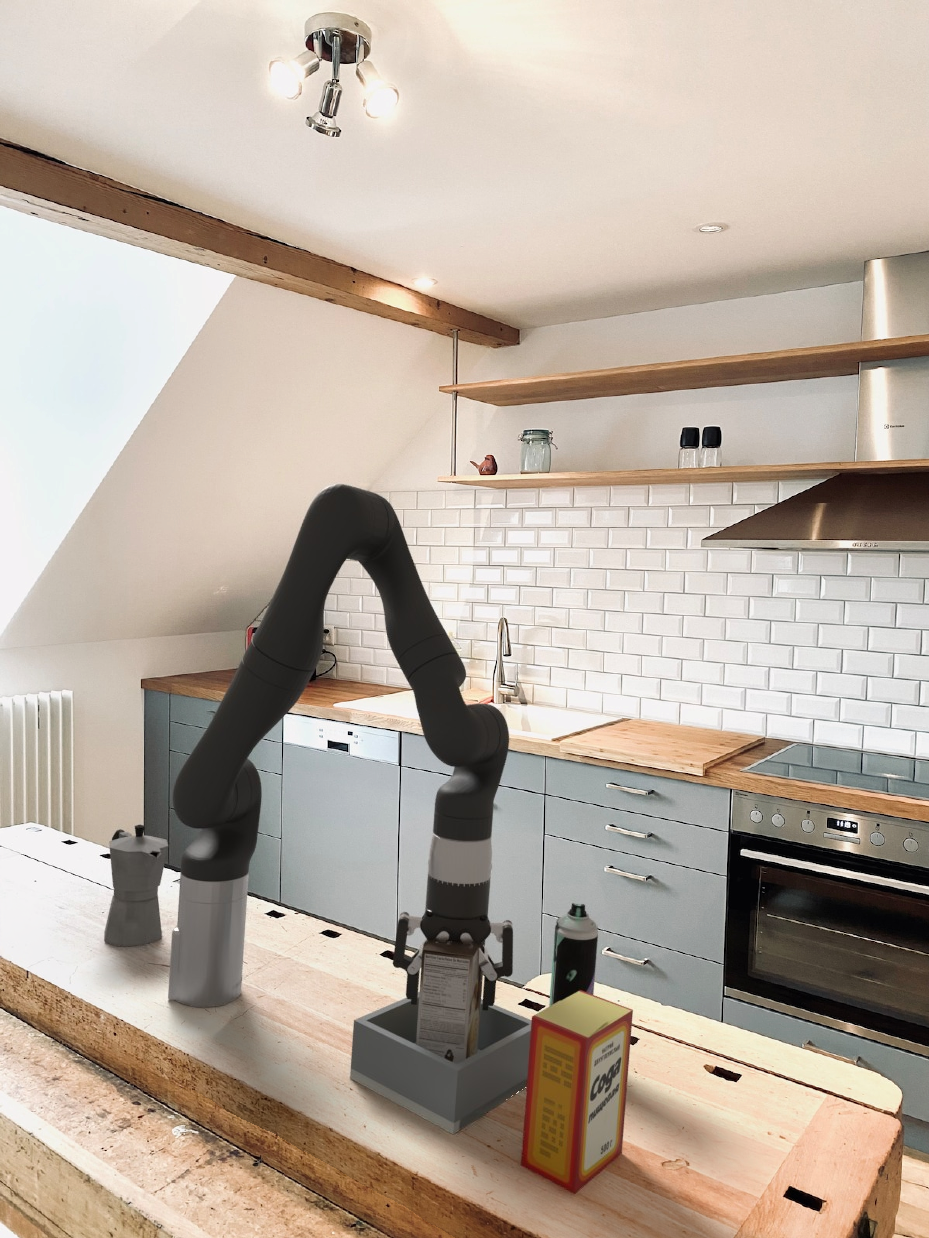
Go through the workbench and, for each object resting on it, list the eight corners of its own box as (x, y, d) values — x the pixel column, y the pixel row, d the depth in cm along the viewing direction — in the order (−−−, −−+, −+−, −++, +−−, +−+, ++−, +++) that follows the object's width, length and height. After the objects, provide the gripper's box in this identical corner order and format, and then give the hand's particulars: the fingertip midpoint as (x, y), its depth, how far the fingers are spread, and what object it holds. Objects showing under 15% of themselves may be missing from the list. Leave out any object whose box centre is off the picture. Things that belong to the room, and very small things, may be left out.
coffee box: (428, 1047, 119) (437, 921, 118) (478, 1055, 118) (487, 927, 117) (411, 1084, 110) (421, 947, 109) (465, 1092, 109) (475, 955, 108)
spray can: (560, 1072, 117) (572, 913, 117) (537, 1051, 122) (548, 898, 121) (596, 1064, 120) (608, 909, 119) (572, 1044, 125) (583, 895, 124)
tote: (349, 1077, 112) (353, 1019, 112) (437, 1034, 125) (441, 982, 125) (453, 1133, 102) (457, 1070, 102) (537, 1080, 115) (541, 1024, 114)
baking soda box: (569, 1128, 105) (580, 986, 105) (621, 1153, 101) (633, 1006, 100) (520, 1165, 98) (532, 1012, 97) (574, 1193, 94) (586, 1035, 93)
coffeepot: (180, 943, 149) (187, 830, 149) (122, 956, 143) (129, 838, 142) (137, 914, 160) (143, 809, 160) (81, 925, 154) (87, 815, 153)
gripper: (397, 876, 109) (387, 1014, 110) (520, 885, 109) (510, 1024, 109) (402, 857, 117) (393, 987, 117) (517, 866, 116) (508, 996, 117)
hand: (449, 1004), depth 113 cm, fingers open, 8 cm apart
